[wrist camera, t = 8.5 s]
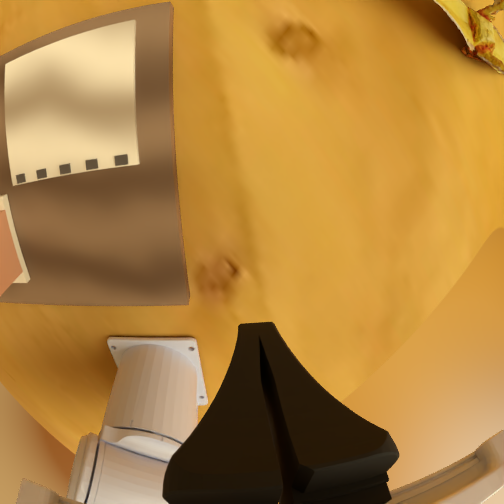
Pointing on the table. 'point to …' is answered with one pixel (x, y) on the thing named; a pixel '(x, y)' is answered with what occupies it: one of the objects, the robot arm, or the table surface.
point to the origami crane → (478, 31)
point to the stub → (10, 250)
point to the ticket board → (94, 163)
